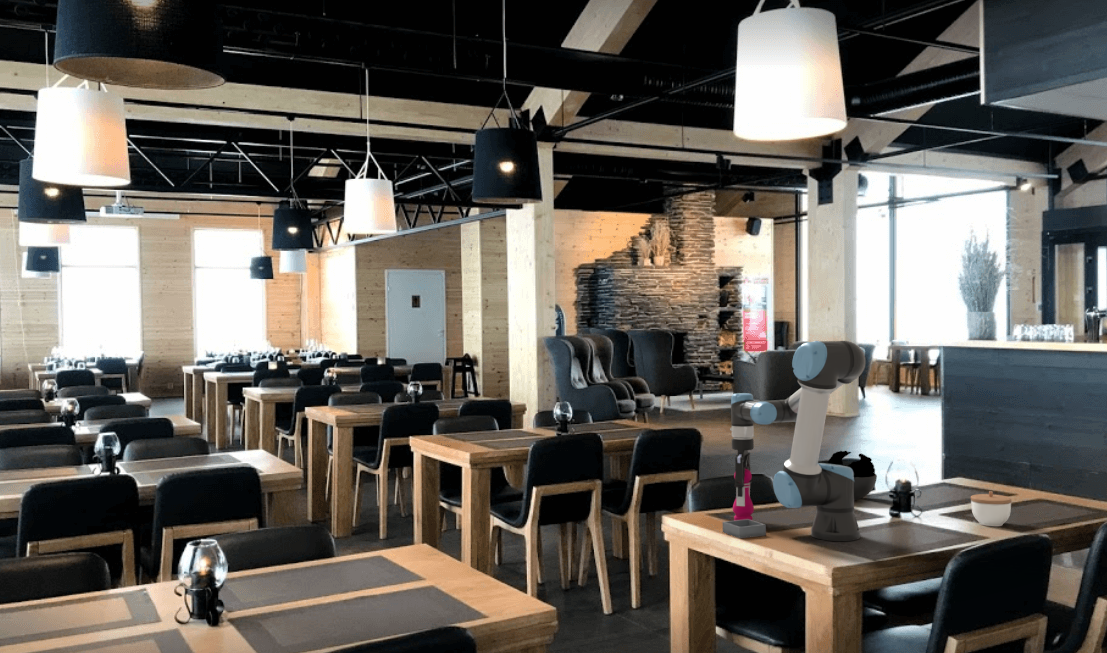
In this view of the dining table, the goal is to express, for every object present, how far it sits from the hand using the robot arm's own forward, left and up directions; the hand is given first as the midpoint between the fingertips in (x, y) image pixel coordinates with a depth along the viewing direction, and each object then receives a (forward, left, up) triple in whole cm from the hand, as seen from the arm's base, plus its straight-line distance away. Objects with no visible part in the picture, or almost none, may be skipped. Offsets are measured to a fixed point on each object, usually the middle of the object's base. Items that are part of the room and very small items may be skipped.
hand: (743, 503), depth 346 cm
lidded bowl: (-40, -72, -6) cm, 83 cm away
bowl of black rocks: (+17, -59, -6) cm, 62 cm away
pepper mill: (0, 0, -6) cm, 6 cm away
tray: (-17, +11, -6) cm, 21 cm away
